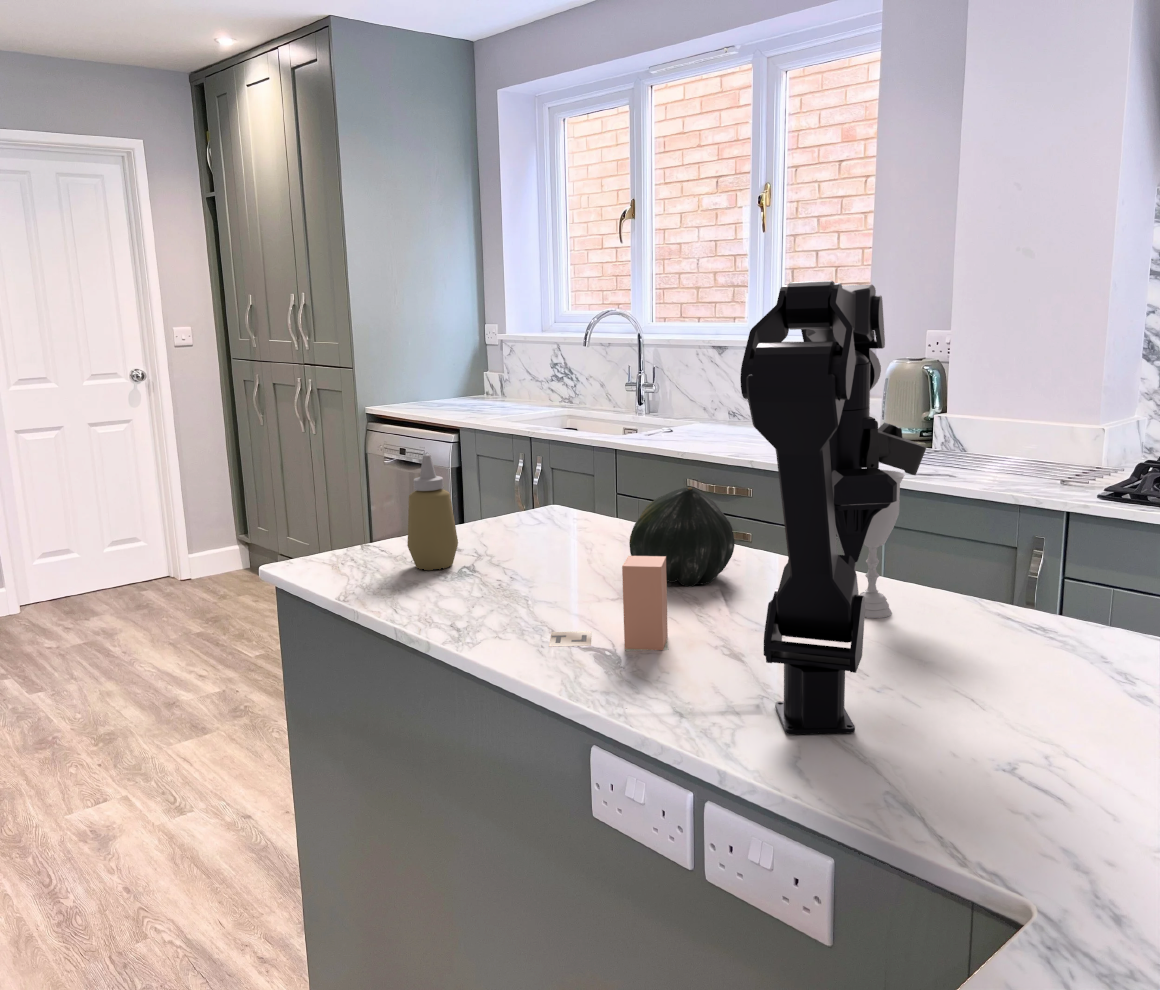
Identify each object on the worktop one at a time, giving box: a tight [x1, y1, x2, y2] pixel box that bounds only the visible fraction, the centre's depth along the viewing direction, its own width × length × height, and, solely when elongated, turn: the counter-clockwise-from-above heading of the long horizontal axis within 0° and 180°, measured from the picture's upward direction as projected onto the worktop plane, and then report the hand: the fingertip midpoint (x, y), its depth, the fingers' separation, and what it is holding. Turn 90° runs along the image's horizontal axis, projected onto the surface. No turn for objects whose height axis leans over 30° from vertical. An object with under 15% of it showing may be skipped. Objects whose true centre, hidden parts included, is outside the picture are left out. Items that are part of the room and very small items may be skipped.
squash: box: [629, 486, 735, 587], centre depth 139 cm, size 14×15×15 cm
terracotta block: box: [621, 555, 669, 651], centre depth 112 cm, size 4×4×10 cm
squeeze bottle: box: [407, 454, 459, 571], centre depth 152 cm, size 8×8×18 cm
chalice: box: [859, 469, 905, 619], centre depth 122 cm, size 7×7×18 cm
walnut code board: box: [548, 630, 669, 652], centre depth 114 cm, size 8×14×1 cm, turn 88°
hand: (839, 550), depth 104 cm, fingers open, 9 cm apart
